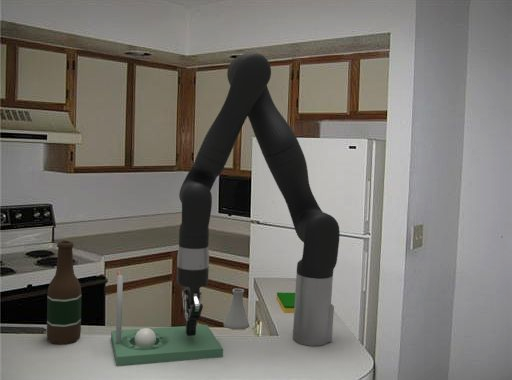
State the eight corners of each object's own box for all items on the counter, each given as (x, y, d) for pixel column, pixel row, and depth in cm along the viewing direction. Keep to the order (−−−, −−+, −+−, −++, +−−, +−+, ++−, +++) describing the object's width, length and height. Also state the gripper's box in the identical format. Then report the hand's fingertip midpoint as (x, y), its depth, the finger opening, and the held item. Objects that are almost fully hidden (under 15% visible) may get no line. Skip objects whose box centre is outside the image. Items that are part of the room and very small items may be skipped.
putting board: (206, 332, 145) (209, 264, 143) (222, 356, 130) (226, 281, 128) (111, 338, 138) (112, 267, 136) (116, 365, 123) (118, 285, 121)
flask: (246, 332, 147) (248, 295, 146) (219, 329, 148) (221, 292, 147) (252, 323, 154) (254, 287, 153) (226, 320, 155) (228, 285, 154)
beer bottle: (87, 337, 138) (89, 241, 135) (64, 347, 131) (65, 246, 128) (63, 330, 141) (64, 237, 139) (39, 340, 134) (40, 242, 132)
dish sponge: (284, 314, 164) (284, 306, 164) (276, 299, 178) (276, 292, 178) (307, 314, 165) (308, 306, 165) (298, 299, 179) (298, 292, 179)
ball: (131, 329, 133) (136, 348, 134) (133, 336, 129) (139, 356, 130) (151, 322, 135) (156, 341, 136) (154, 329, 130) (160, 348, 131)
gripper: (215, 271, 129) (212, 343, 131) (202, 257, 141) (199, 324, 143) (182, 272, 126) (180, 346, 128) (172, 258, 139) (170, 326, 141)
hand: (190, 334), depth 136 cm, fingers closed
